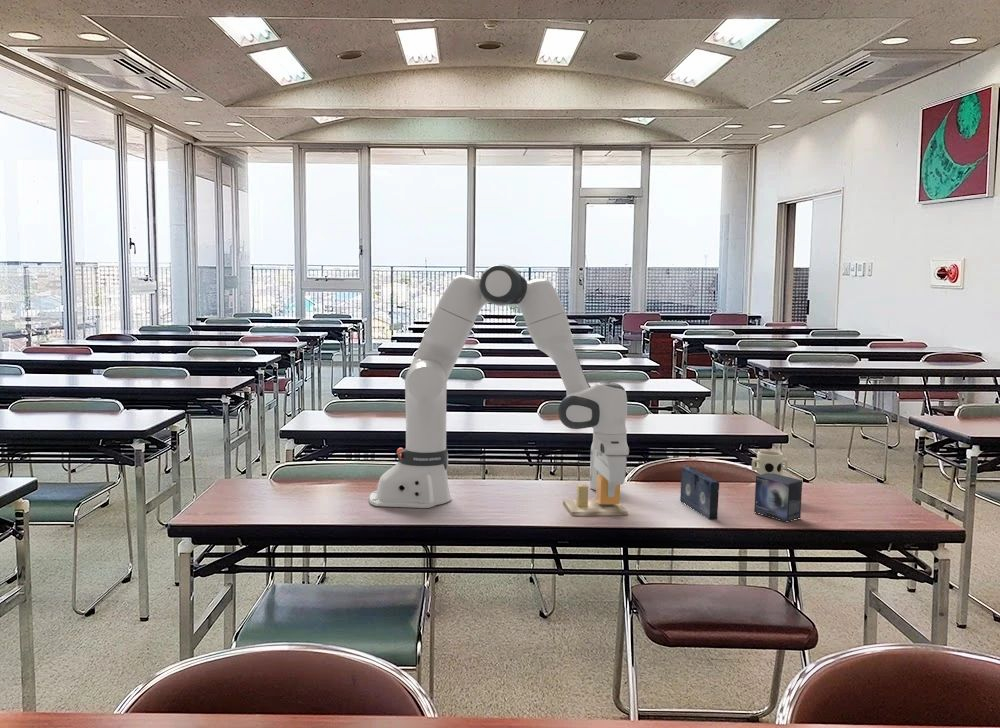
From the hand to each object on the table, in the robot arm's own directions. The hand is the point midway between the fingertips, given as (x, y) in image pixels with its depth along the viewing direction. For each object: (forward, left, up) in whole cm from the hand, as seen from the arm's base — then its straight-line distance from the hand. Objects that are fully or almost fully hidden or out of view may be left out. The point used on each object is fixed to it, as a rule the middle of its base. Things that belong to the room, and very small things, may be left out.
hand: (607, 493), depth 228 cm
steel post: (0, 0, -4) cm, 4 cm away
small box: (+44, -9, -5) cm, 45 cm away
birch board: (-3, 0, -4) cm, 6 cm away
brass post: (-7, 0, -4) cm, 8 cm away
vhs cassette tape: (+25, -2, -5) cm, 25 cm away
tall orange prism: (0, 0, -2) cm, 2 cm away
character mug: (+50, +10, -4) cm, 51 cm away
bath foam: (+4, +22, -4) cm, 23 cm away
